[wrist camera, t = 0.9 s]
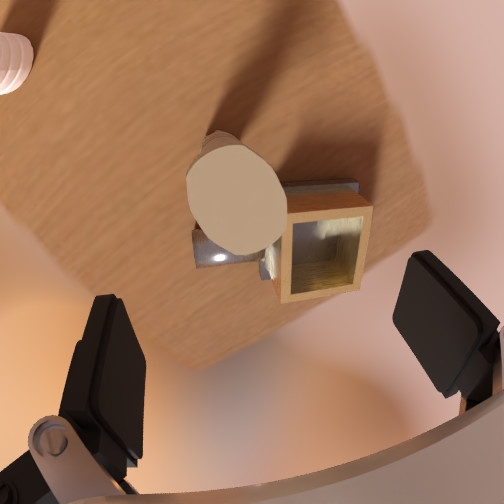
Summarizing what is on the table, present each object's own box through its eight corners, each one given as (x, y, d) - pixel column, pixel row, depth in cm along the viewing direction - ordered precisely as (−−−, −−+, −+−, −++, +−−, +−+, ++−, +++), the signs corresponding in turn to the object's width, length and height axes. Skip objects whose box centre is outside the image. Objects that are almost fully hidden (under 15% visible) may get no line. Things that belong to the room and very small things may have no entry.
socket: (187, 192, 31) (186, 219, 26) (353, 178, 33) (382, 200, 28) (200, 280, 37) (203, 318, 31) (344, 260, 39) (366, 291, 34)
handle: (225, 105, 27) (253, 129, 15) (255, 161, 31) (301, 229, 18) (180, 130, 28) (167, 176, 15) (212, 184, 31) (227, 267, 18)
